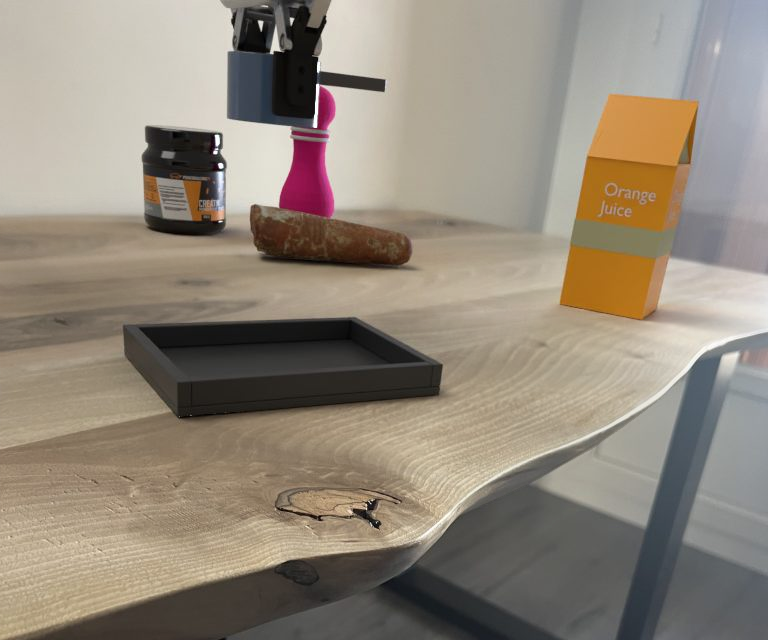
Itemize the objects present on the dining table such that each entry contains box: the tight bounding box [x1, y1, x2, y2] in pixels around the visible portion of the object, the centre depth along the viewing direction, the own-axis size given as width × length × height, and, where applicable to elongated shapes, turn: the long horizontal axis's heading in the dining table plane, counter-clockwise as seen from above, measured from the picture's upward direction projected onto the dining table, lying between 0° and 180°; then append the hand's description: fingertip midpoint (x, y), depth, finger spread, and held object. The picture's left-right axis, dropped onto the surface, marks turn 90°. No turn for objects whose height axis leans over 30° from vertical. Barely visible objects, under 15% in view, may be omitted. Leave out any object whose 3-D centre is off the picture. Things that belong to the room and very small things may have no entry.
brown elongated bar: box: [249, 203, 414, 266], centre depth 94 cm, size 6×19×6 cm, turn 96°
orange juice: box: [558, 93, 700, 321], centre depth 83 cm, size 8×9×20 cm
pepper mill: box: [278, 85, 337, 219], centre depth 104 cm, size 7×7×20 cm
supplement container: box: [141, 124, 228, 236], centre depth 104 cm, size 10×10×12 cm
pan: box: [226, 50, 387, 128], centre depth 62 cm, size 13×7×4 cm, turn 120°
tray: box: [122, 316, 444, 418], centre depth 54 cm, size 18×13×2 cm
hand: (272, 111), depth 61 cm, fingers closed on pan, 6 cm apart
